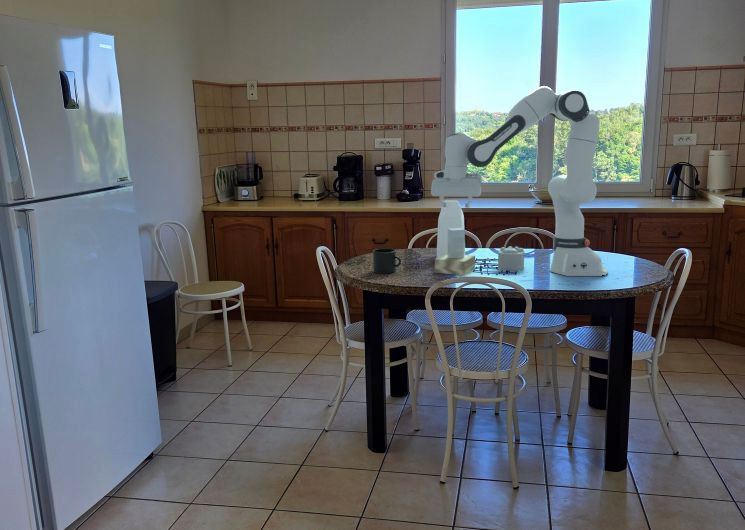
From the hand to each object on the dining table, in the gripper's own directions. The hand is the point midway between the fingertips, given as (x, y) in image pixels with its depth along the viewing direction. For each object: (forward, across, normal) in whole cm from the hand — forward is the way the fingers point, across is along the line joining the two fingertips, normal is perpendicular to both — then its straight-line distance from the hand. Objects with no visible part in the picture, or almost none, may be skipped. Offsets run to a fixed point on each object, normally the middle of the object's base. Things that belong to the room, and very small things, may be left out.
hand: (455, 207), depth 267 cm
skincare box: (+21, 0, 0) cm, 21 cm away
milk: (+27, +7, -29) cm, 40 cm away
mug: (+27, +27, +9) cm, 39 cm away
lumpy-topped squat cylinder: (+27, -22, -12) cm, 37 cm away
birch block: (+27, 0, 0) cm, 27 cm away
